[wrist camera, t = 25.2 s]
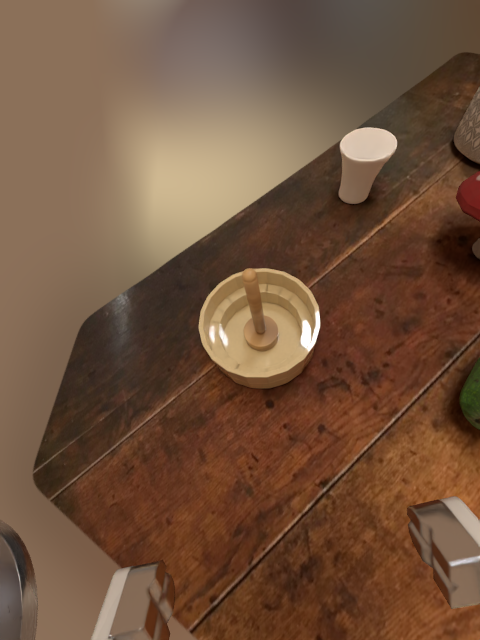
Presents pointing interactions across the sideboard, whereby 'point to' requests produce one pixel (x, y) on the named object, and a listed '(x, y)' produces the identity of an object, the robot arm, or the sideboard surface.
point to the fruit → (472, 396)
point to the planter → (470, 131)
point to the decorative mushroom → (471, 202)
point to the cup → (363, 161)
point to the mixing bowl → (278, 303)
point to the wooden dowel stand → (258, 316)
